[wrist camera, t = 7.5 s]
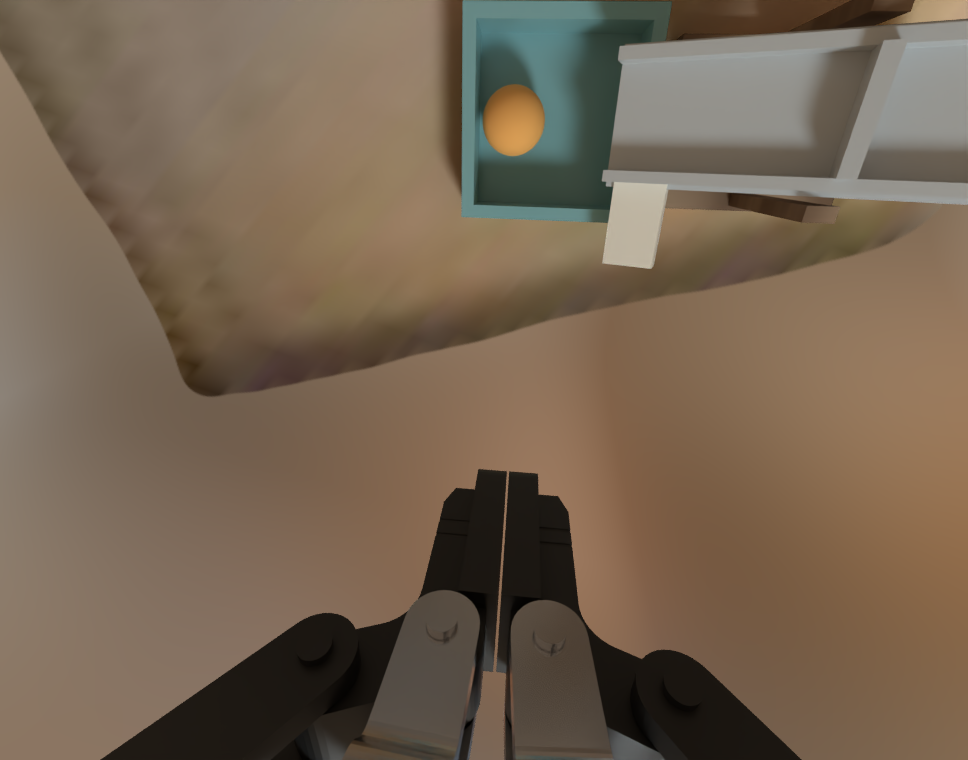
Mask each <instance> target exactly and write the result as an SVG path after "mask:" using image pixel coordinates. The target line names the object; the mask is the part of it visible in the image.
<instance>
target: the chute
mask: <svg viewBox="0 0 968 760" xmlns="http://www.w3.org/2000/svg"><path fill="white" fill-rule="evenodd" d="M618 61H619V62H620V63H621V64H622V71H621V78H620V86H619V93H618V100H617V108H616V115H615V122H614V130H613V137H612V144H611V152H610V159H609V166H608V170H603V176H602V181H604V182H606V186H610V187H613V193H612V200H611V207H610V214H609V221H608V228H607V235H606V242H605V249H604V256H603V263H606V264H615V265H623V266H632V267H640V268H648V269H651V268H652V267H653V266H654V261H655V256H656V251H657V246H658V241H659V236H660V231H661V225H662V220H663V215H664V210H665V205H666V200H667V195H668V189H669V190H689V191H708V192H728V193H748V194H768V195H787V196H807V197H827V198H847V199H866V200H886V201H906V202H926V203H945V204H966V205H968V19H960V20H946V21H932V22H919V23H905V24H892V25H878V26H864V27H851V28H837V29H823V30H810V31H796V32H783V33H769V34H755V35H742V36H728V37H714V38H701V39H687V40H674V41H660V42H646V43H633V44H625V46H620V48H619V55H618Z"/></svg>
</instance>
